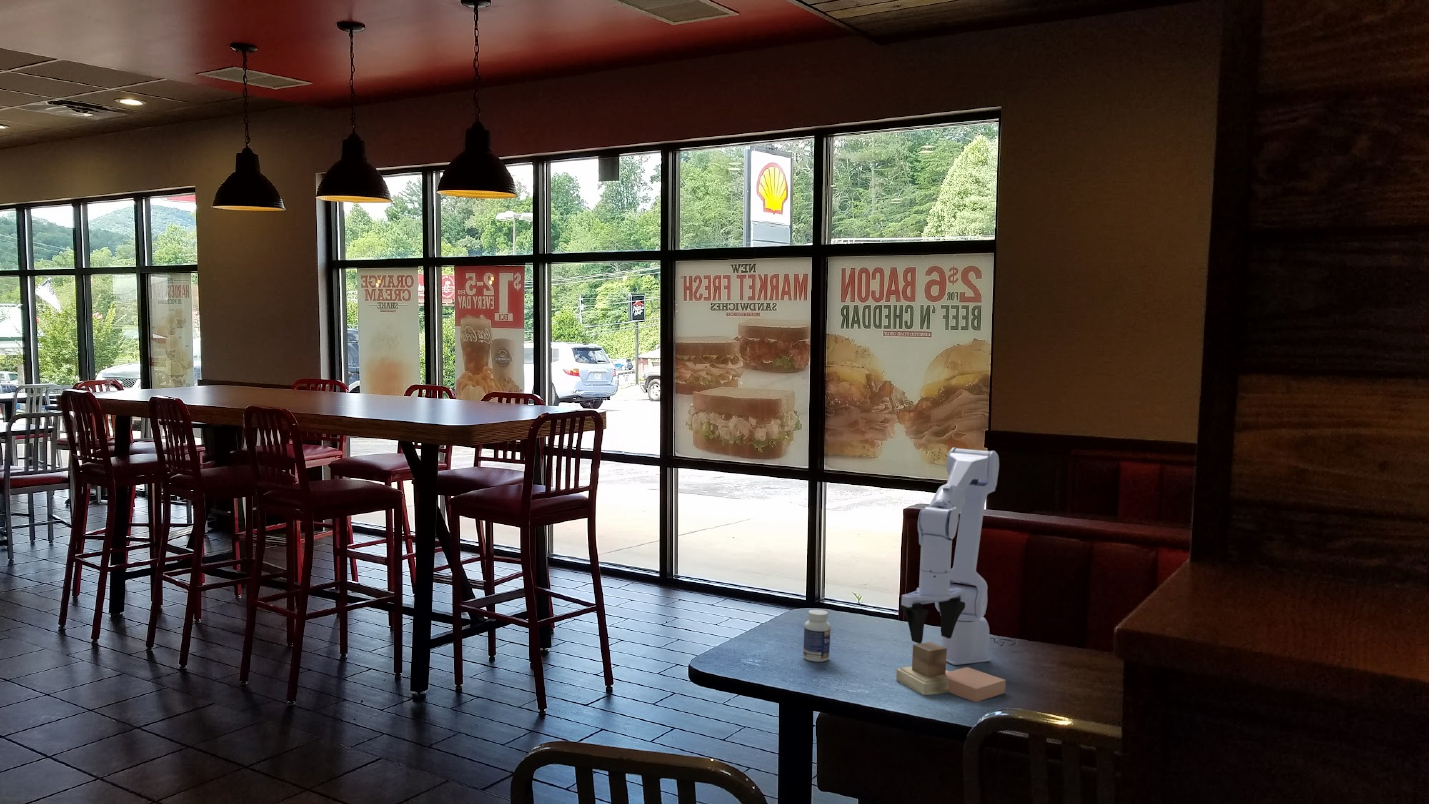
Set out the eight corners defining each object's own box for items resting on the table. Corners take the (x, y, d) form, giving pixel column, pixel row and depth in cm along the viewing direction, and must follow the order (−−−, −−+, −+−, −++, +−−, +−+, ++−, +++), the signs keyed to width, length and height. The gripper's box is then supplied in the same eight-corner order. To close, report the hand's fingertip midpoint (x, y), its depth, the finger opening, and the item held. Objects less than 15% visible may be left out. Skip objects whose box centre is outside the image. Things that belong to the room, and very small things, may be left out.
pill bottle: (827, 663, 205) (830, 616, 205) (801, 661, 206) (803, 614, 206) (830, 655, 211) (832, 609, 210) (804, 653, 212) (806, 607, 211)
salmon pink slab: (966, 679, 199) (966, 666, 199) (1004, 692, 192) (1005, 680, 192) (936, 687, 193) (937, 675, 193) (975, 702, 186) (976, 688, 186)
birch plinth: (934, 675, 201) (934, 663, 201) (962, 690, 192) (963, 677, 192) (896, 679, 197) (896, 667, 197) (923, 695, 189) (924, 682, 189)
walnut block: (929, 666, 198) (930, 641, 198) (945, 673, 194) (946, 648, 194) (911, 669, 196) (913, 644, 195) (927, 677, 192) (929, 651, 191)
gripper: (948, 562, 201) (944, 629, 201) (892, 568, 193) (888, 638, 194) (974, 569, 194) (970, 639, 195) (917, 576, 187) (913, 648, 188)
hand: (931, 639), depth 194 cm, fingers open, 7 cm apart
